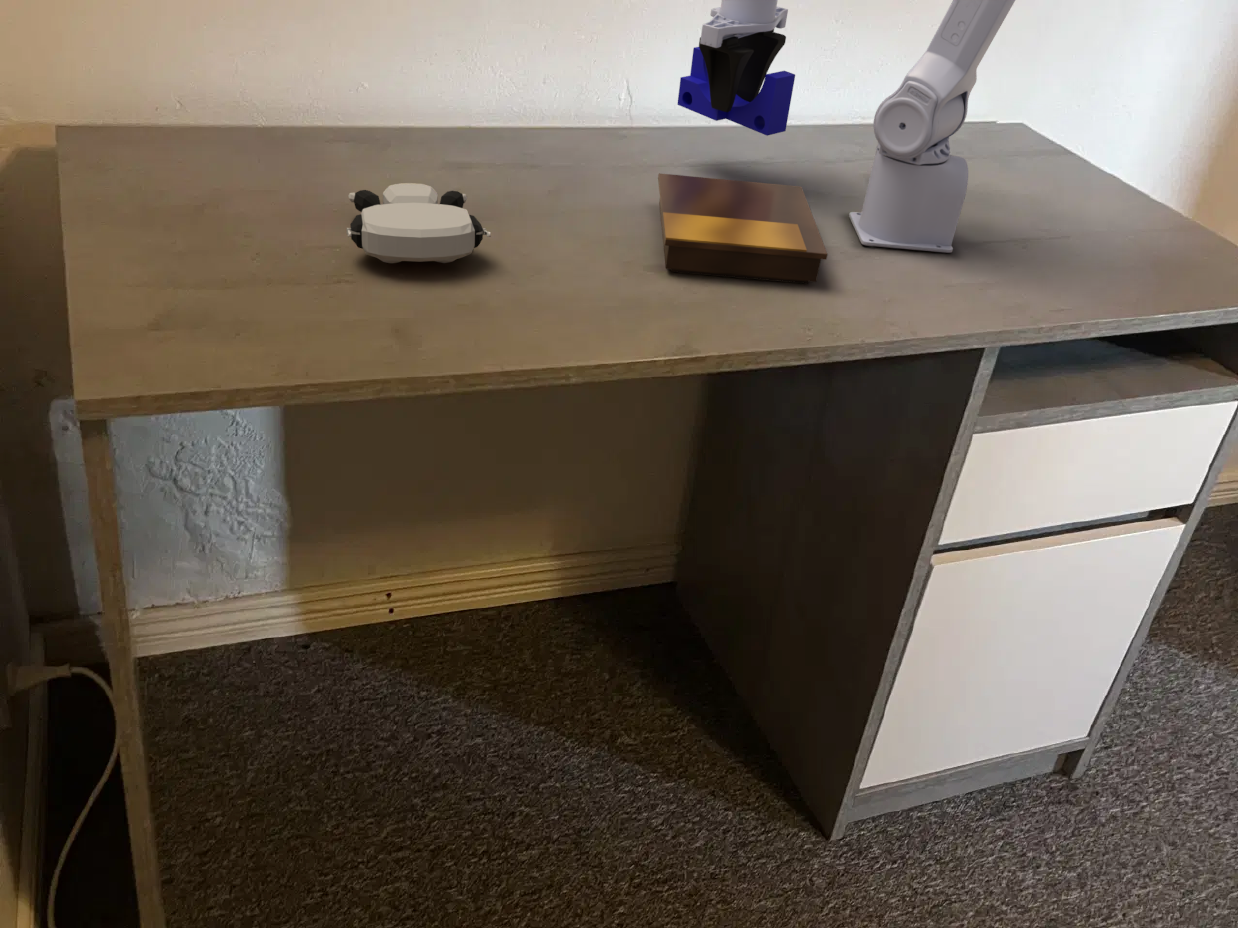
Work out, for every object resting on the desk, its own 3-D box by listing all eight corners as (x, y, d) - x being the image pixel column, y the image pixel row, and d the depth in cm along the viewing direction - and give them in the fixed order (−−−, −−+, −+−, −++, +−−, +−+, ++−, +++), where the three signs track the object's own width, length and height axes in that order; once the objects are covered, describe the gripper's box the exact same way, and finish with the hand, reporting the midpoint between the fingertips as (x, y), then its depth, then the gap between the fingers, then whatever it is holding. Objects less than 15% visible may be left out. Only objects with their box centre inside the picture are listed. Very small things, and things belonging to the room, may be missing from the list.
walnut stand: (795, 219, 121) (802, 184, 119) (820, 289, 107) (828, 252, 105) (654, 206, 120) (658, 171, 118) (660, 275, 106) (665, 237, 104)
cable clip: (677, 104, 127) (683, 49, 123) (705, 99, 129) (712, 44, 126) (757, 138, 120) (767, 80, 116) (785, 131, 122) (795, 74, 119)
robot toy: (343, 221, 111) (349, 279, 98) (342, 175, 108) (347, 228, 96) (470, 222, 114) (491, 277, 101) (471, 177, 111) (492, 228, 99)
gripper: (755, -44, 123) (735, 83, 131) (682, -29, 113) (666, 108, 120) (813, -30, 120) (789, 99, 128) (744, -14, 110) (723, 125, 117)
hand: (733, 104), depth 124 cm, fingers closed on cable clip, 5 cm apart
